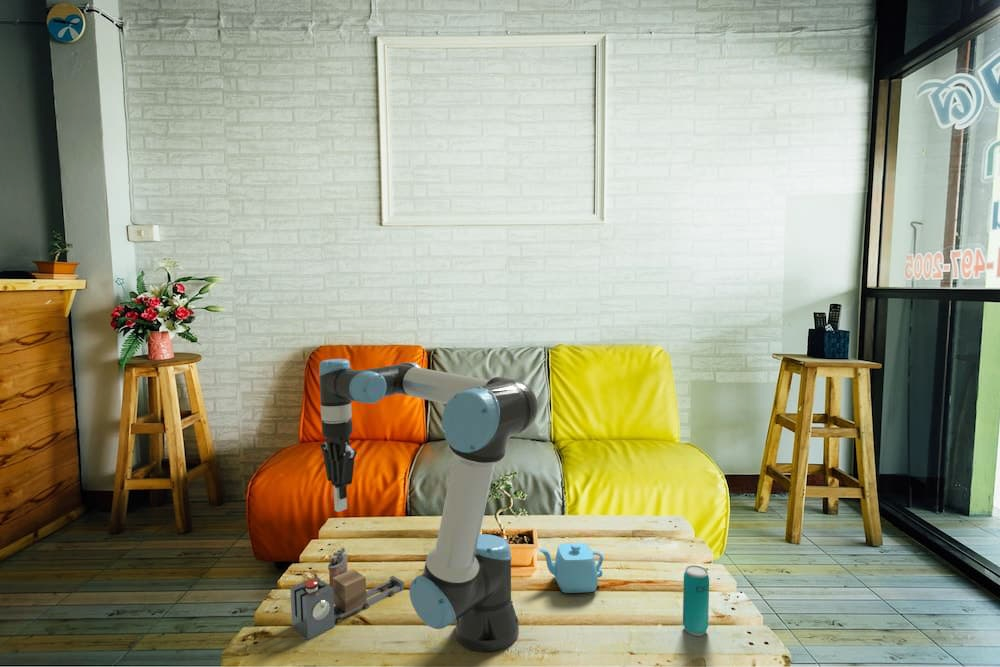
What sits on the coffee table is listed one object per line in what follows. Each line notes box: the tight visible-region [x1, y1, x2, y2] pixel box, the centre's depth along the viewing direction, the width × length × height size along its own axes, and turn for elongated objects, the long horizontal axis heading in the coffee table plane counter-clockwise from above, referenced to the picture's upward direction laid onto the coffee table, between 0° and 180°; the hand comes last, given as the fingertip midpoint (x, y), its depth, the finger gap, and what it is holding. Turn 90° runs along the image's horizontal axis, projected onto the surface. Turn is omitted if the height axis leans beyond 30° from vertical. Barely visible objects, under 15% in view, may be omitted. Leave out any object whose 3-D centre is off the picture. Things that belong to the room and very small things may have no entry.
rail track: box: [294, 575, 405, 637], centre depth 147 cm, size 6×29×2 cm, turn 136°
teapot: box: [538, 542, 604, 594], centre depth 157 cm, size 12×18×12 cm
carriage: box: [333, 569, 367, 613], centre depth 146 cm, size 6×6×7 cm
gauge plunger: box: [304, 578, 318, 595], centre depth 139 cm, size 3×3×7 cm
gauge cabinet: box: [289, 576, 336, 641], centre depth 139 cm, size 8×7×10 cm
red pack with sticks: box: [327, 546, 349, 588], centre depth 157 cm, size 8×3×10 cm, turn 168°
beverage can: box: [682, 565, 710, 637], centre depth 136 cm, size 6×6×15 cm
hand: (340, 509), depth 147 cm, fingers closed
